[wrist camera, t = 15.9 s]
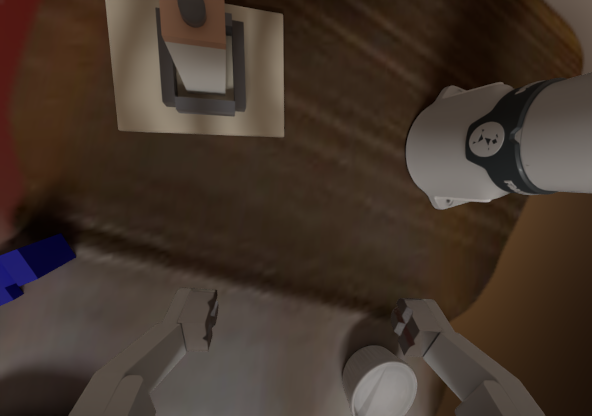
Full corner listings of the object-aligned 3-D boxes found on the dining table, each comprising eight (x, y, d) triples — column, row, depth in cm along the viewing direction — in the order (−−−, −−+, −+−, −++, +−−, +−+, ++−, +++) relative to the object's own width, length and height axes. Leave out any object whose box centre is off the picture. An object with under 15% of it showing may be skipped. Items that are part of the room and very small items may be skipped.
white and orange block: (223, 44, 28) (222, -61, 15) (225, 96, 28) (226, 36, 16) (184, 39, 26) (150, -79, 14) (187, 93, 27) (157, 26, 15)
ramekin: (332, 349, 38) (349, 376, 33) (393, 329, 41) (416, 351, 36) (338, 409, 40) (354, 443, 35) (396, 386, 43) (418, 414, 38)
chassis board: (281, 18, 30) (287, 2, 27) (282, 137, 32) (288, 134, 29) (107, -13, 25) (93, -36, 22) (121, 130, 27) (110, 126, 24)
